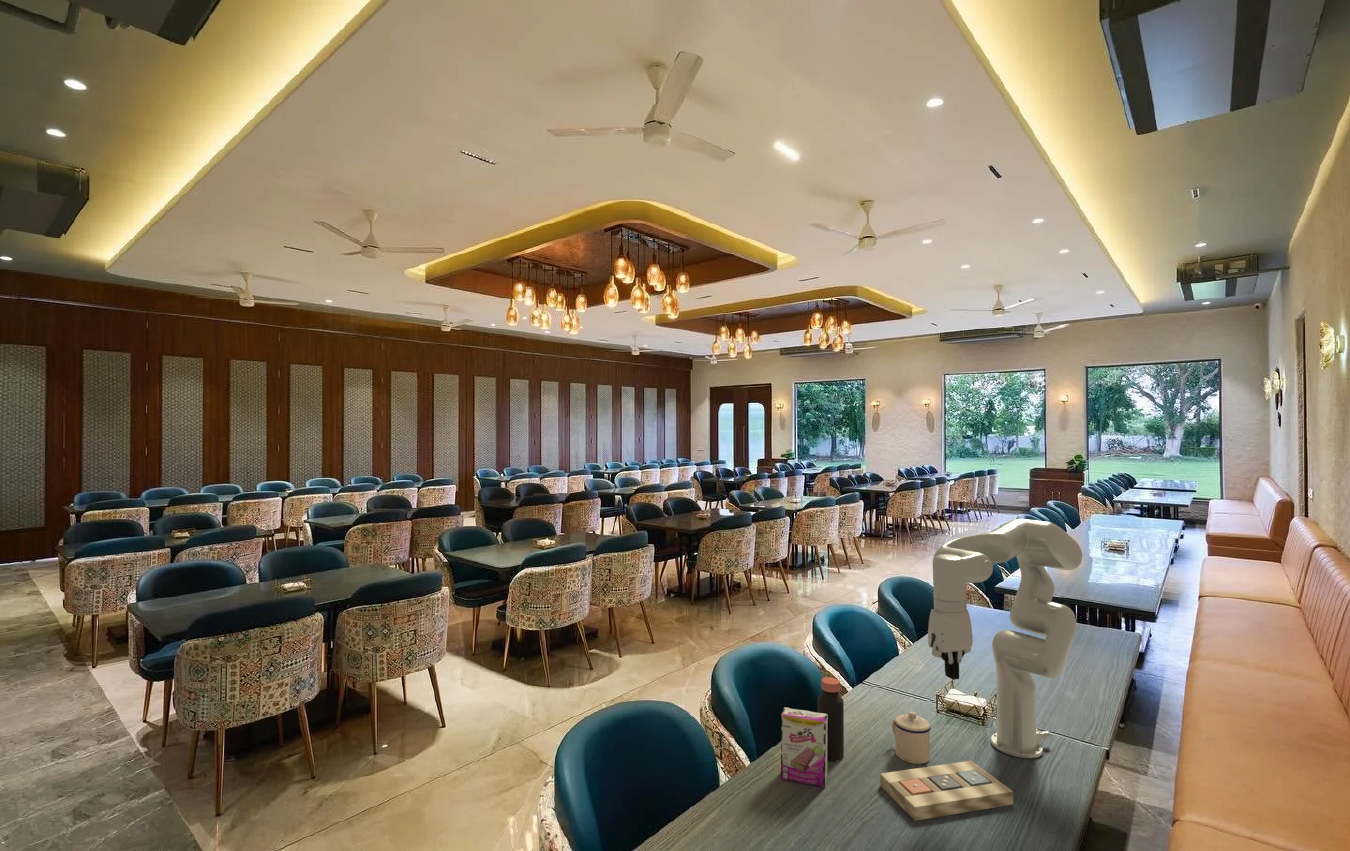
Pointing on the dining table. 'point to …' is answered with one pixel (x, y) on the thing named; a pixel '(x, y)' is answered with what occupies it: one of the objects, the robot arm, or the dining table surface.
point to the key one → (915, 787)
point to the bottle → (833, 717)
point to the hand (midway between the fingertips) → (952, 677)
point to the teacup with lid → (912, 738)
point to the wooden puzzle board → (945, 800)
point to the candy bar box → (804, 746)
